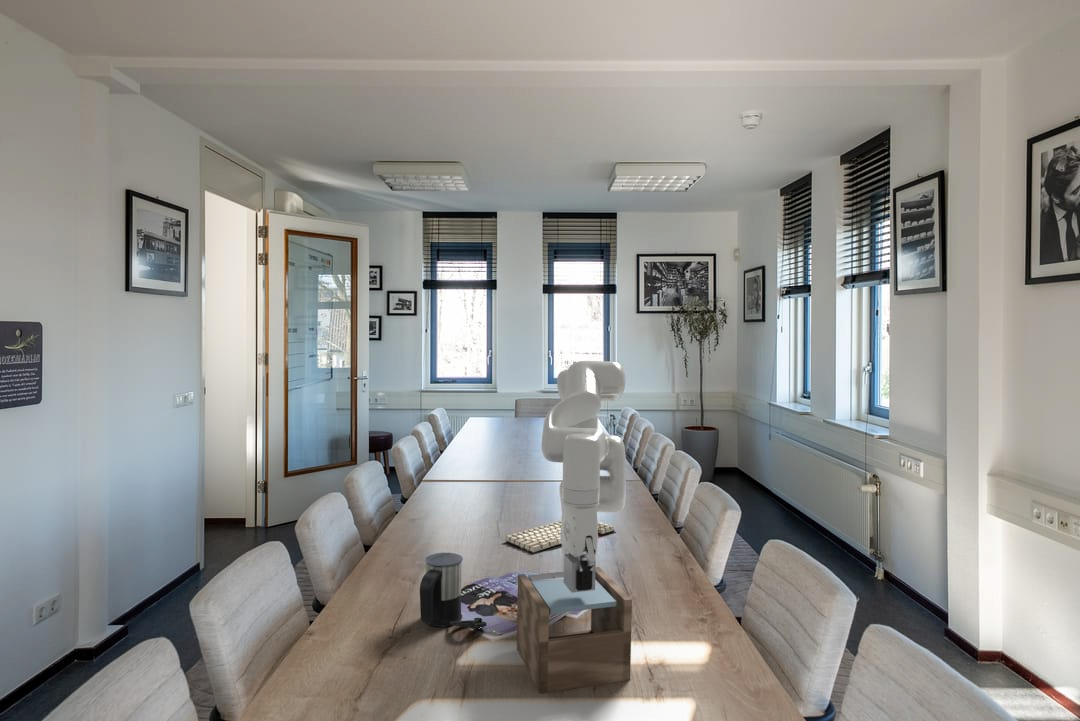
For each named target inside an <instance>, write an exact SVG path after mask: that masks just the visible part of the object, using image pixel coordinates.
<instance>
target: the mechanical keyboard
mask: <svg viewBox="0 0 1080 721" xmlns="http://www.w3.org/2000/svg"><path fill="white" fill-rule="evenodd" d="M597 523H598V540H599V539H601V538H604V537H608V536H611V535H614V534H617V531H615V530H616V529H615V527H614V525H609V524H608V523H605V524H604V522H599V521H598V520H597ZM560 535H561V520H559V521H555V522H551V523H548V524H544V525H541V526H538V527H536V526H535V527H533V528H529V529H528V530H522V532H521V531H519V532H517V533H511V534H508V535H506V536H505V541H504V544H506V545H509V546H511V547H513V548H516V549H517V550H522V551H525V552H527V553H531V554H537V553H544V552H551V551H554V550H558V549H562V544H561V541H560ZM543 556H544V554H543V555H539V557H543Z"/></svg>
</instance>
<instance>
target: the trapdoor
mask: <svg viewBox="0 0 1080 721" xmlns="http://www.w3.org/2000/svg"><path fill="white" fill-rule="evenodd" d="M527 578H528V579H529V580H530V582H531V583H532V585H533V586H534V588H535V589H536V591H537V592H538V593H539V595H540V596H541V598H542V599H543V601H544V602H545V604H546V605H547V606H548V608H549V615H552V614H559V613H560V614H561V613H567V612H578V611H587V610H591V609H596V608H605V607H614V606H616V600H615V599H614V598H613V597H612V596H611V595H610V594H609V593H608V592H607V591H606V590H605V589H604V588H603V587H602V586H601V585H600V584H599V583H598V582H597V581H596V580H595V590H591V591H582V592H573V593H571V591H570V590H569V589H568V588H567V586H566V585H565V584H564V572H561V571H559V572H557V571H556V572H548V573H537V574H529V575H528V576H527Z"/></svg>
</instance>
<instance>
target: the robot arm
mask: <svg viewBox="0 0 1080 721" xmlns="http://www.w3.org/2000/svg"><path fill="white" fill-rule="evenodd" d="M556 385H557V386H556V387H557V392H558V396H559V399H560V401H559V402H558V403H556V404H555V405H554V406H552V408H551V409H549V411H548V412H547V413H546V416H545V418H544V421H543V426H542V433H541V434H542V435H541V452H542V456H543V457H544V459H545V460H547V461H548V462H550V463H562V480H561V482H560V484H559V498H560V508H561V518H560V519H561V520H560V521H561V535H560V541H561V544H562V548H561V571H560V572H564V554H571V555H572V556H574V557H577V559H578V570H576V589H577V590H578V591H581V590H590V589H592V571H593V565H594V563H595V562H596V567H598V548H599V547H598V546H599V545H598V544H599V543H598V542H599V539H598V523H599V522H598V523H597V521H598V513H619V512H621V511H622V510H623V509H624V507H625V506H626V505H625V504H626V489H627V488H626V480H627V479H626V473H627V472H626V470H627V469H626V460H627V458H626V446H625V443H624V441H623V439H622V438H621V437H619V436H618V435H612V434H606V432H604V430H602V429H600V428H598V427H599V426H598V423H599V418H598V414H599V412H600V410H601V407H602V404H601V402H617V401H619V400H620V399H621V397H622V395H623V394H624V392H625V389H626V374H625V369H624V368H623V367H622V365H621V364H620V363H619V362H616V361H611V360H610V361H607V360H606V361H603V360H582V361H581V360H580V361H576V362H574V363H572V364H571V365H569V367H568V368H567V369H565V370H562V371H560V372H559V373H558V375H557V379H556ZM601 471H605V472H606V473H608V475H601ZM583 552H586V554H582V553H583ZM582 558H587V559H586V560H585V561H584V562H583V563H582Z"/></svg>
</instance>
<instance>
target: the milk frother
mask: <svg viewBox="0 0 1080 721" xmlns="http://www.w3.org/2000/svg"><path fill="white" fill-rule="evenodd" d="M463 560H464V558H463V556H462V555H460V554H458V553H455V552H454V553H453V552H436V553H433V554H430V555H427V556H426V557H425V558H424V562H425V566H426V567H425V574H424V575H423V577H422V578H421V581H420V586H419V608H420V609H419V610H420V621H421V622H423V623H426V624H427V625H429V626H433V627H440V628H443V627H450V626H455V627H459V628H460V627H462V628H471V629H474V630H475V629H479V628H480V627H482V628H485V627H487V626H488V625H487V622H486V621H483V619H482V618H481V617H475V618H473V619H469V620H467V619H466V620H462V619H463V615H462V614H463V613H462V566H463V565H462V562H463ZM460 620H461V621H460Z"/></svg>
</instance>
